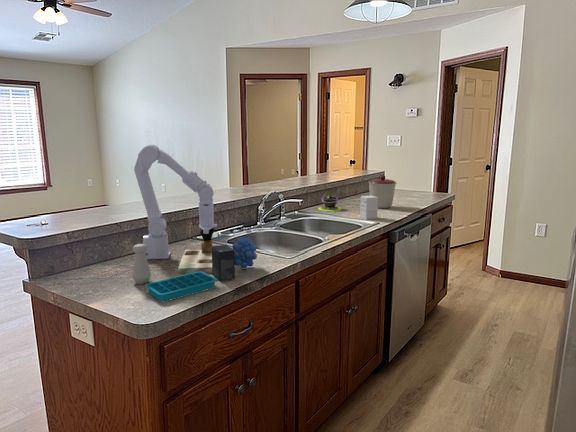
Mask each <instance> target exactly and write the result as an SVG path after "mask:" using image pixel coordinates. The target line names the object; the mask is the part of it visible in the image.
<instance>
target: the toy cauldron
mask: <svg viewBox="0 0 576 432" xmlns="http://www.w3.org/2000/svg"><path fill="white" fill-rule="evenodd" d="M330 192H331V195H332V196H330V195H326V196H323V197H321V201H322V202H323V205H324V206H321V207H318V208H317V209H318V210H319V211H323V212H337V211H338V212H339V211H342V208H341V207H338V206H336V205H337V204H338V200H339V199H340V198H339V197H337V196H335V194H334V195H333V193H334V192H333V191H330ZM332 192H333V193H332Z"/></svg>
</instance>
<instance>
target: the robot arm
mask: <svg viewBox="0 0 576 432" xmlns="http://www.w3.org/2000/svg"><path fill="white" fill-rule="evenodd" d="M156 161H157V164H160V165H161V164H162V165H166V166H167V167H168V168H170V169H171V170H172V171H173V172H174V173H176V174H178V176H180V177H181V178H182V179H181V181H182V183H183V184H184V185H185V186H187V187H188V188H189V189H190V190H191V191H193V192H194V193H197V195H198V197H199V199H198V200H199V202H198V213H199V214H198V218H199V220H198V221H199V225H198V226H199V228H200V230H199V234H200V236H201V237H202V238H201V239H202V241H212V237H213V235H214V232H215V228H216V227H218V224H217V223H215V220H214V219H215V216H214V215H215V214H214V213H215V212H214V211H215V209H214V208H215V207H214V202H213V201H214V198H213V197H214V190H213V187H212V186H211V184H209V183H208V182H207V181H206V180H203V178H201V177H200V176H199V175H198V172H196V171H195V172H194V171H193V170H186V169H185V168H184V167H183V166H182V165H181V164H180V163H179V162H178V161H177V160H176V159H174V158H173V157H172V156H171V155H170V154H169V153H167V152H166V151H164V150H163V149H161V148H159V146H157V145H156V144H149V145H145V146H144V147H143V148H142V149H141V150H140V152H138V154H137V158H136V162H135V165H134V167H133V170H134V171H133V172H134V174H135V175H134V176H135V178H136V180H137V185H138V187H139V190H140V194H141V196H142V201H143V205H144V207H145V211H146V214H147V215H146V216H147V222H148V227H147V230H148V234H147V235H146V234H145V235H143V236H142V237H143V238H142V244H145V245H146V247H147V251H146V252H145V253H146V257H147V260H163V259H166V260H169V258H170V256H171V255H172V252H171V251H170V250H169V237H168V236H169V234H168V232H167V231H166V228H167V220H166V219H165V218H164V216H163V215H162V212H161V210H160V207H159V204H158V201H157V197H156V194H155V190H154V187H153V182H152V180H151V176H150V174H149V171H150V169H151V168H152V165H153V164H154V163H155V162H156Z"/></svg>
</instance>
